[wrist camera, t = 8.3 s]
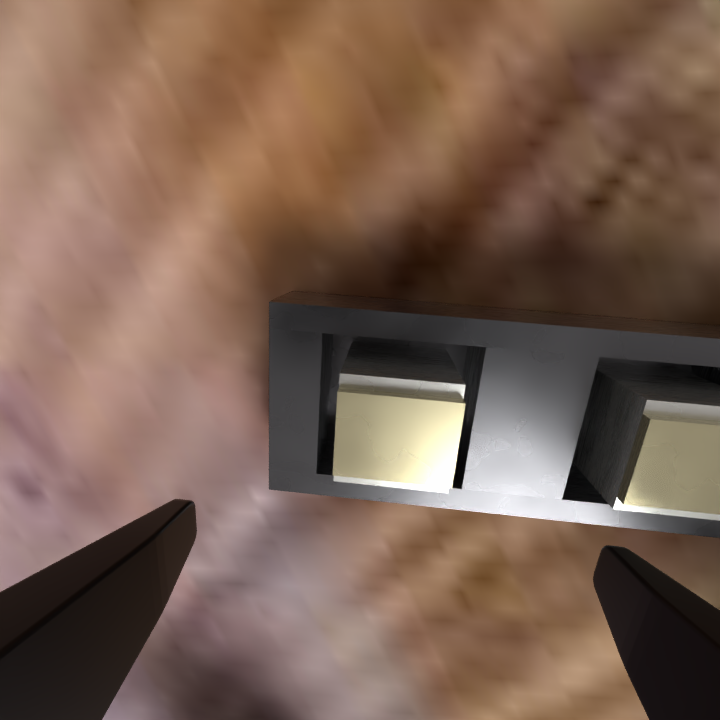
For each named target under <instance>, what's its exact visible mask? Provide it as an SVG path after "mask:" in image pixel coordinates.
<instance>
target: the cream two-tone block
mask: <svg viewBox="0 0 720 720" xmlns="http://www.w3.org/2000/svg"><path fill="white" fill-rule="evenodd" d="M465 386H466V384H465V383H464V381H463V379H462V377H461V375H460V374H459V372H458V370H457V368H456V366H455V365H454V363H453V361H452V359H451V357H450V355H449V354H448V352H447V350H446V349H438V348H427V347H415V346H404V345H392V344H381V343H369V342H358V341H352V343H351V346H350V349H349V351H348V354H347V356H346V359H345V361H344V364H343V366H342V369H341V372H340V378H339V389H338V391H337V408H336V425H335V442H334V459H333V476H334V480H333V481H337V482H346V483H356V484H365V485H375V486H384V487H394V488H403V489H413V490H422V491H431V492H441V493H448V492H449V488H452V484H453V478H454V472H455V466H456V460H457V454H458V448H459V442H460V436H461V429H462V423H463V417H464V411H465V405H466V403H465V401H464V392H465Z"/></svg>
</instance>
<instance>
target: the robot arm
mask: <svg viewBox="0 0 720 720" xmlns="http://www.w3.org/2000/svg"><path fill="white" fill-rule="evenodd" d="M196 533H197V527H196V511H195V504H194V502H193V501H191V500H183V499H174V500H172V501H170V502H168V503H166V504H164V505H163V506H161V507H159V508H157V509H155V510H153V511H151V512H149V513H148V514H146V515H144V516H142V517H140V518H138V519H136V520H134V521H133V522H131V523H129V524H127V525H125V526H123V527H121V528H119V529H118V530H116V531H114V532H112V533H110V534H108V535H106V536H104V537H103V538H101V539H99V540H97V541H95V542H93V543H91V544H90V545H88V546H86V547H84V548H82V549H80V550H78V551H76V552H75V553H73V554H71V555H69V556H67V557H65V558H63V559H61V560H60V561H58V562H56V563H54V564H52V565H50V566H48V567H46V568H45V569H43V570H41V571H39V572H37V573H35V574H33V575H31V576H30V577H28V578H26V579H24V580H22V581H20V582H18V583H16V584H14V585H13V586H11V587H9V588H7V589H5V590H3V591H1V592H0V720H102V719H103V717H104V715H105V713H106V712H107V710H108V708H109V706H110V704H111V703H112V701H113V699H114V697H115V696H116V694H117V692H118V690H119V689H120V687H121V685H122V683H123V682H124V680H125V678H126V676H127V674H128V673H129V671H130V669H131V667H132V666H133V664H134V662H135V660H136V659H137V657H138V655H139V653H140V652H141V650H142V648H143V646H144V644H145V643H146V641H147V639H148V637H149V636H150V634H151V632H152V630H153V629H154V627H155V625H156V623H157V621H158V620H159V618H160V616H161V614H162V612H163V610H164V608H165V606H166V604H167V602H168V600H169V598H170V595H171V593H172V591H173V589H174V586H175V584H176V582H177V580H178V577H179V575H180V573H181V571H182V568H183V566H184V564H185V562H186V560H187V557H188V555H189V553H190V551H191V548H192V546H193V544H194V541H195V538H196ZM593 582H594V587H595V590H596V593H597V595H598V598H599V601H600V603H601V606H602V609H603V611H604V614H605V617H606V619H607V622H608V625H609V627H610V630H611V633H612V636H613V638H614V641H615V644H616V646H617V649H618V652H619V654H620V657H621V659H622V662H623V664H624V666H625V669H626V671H627V673H628V675H629V678H630V680H631V682H632V684H633V686H634V688H635V690H636V693H637V695H638V697H639V699H640V701H641V703H642V705H643V707H644V709H645V712H646V714H647V716H648V718H649V720H720V610H718V609H717V608H715V607H714V606H712V605H711V604H709V603H708V602H706V601H705V600H703V599H702V598H700V597H699V596H697V595H696V594H694V593H693V592H691V591H690V590H688V589H687V588H685V587H684V586H683V585H681V584H680V583H678V582H677V581H675V580H674V579H672V578H671V577H669V576H668V575H666V574H665V573H663V572H662V571H660V570H659V569H657V568H656V567H654V566H653V565H651V564H650V563H648V562H647V561H645V560H644V559H642V558H641V557H639V556H638V555H636V554H635V553H633V552H632V551H630V550H629V549H627V548H625V547H618V546H609V545H608V546H604V547H603V548H602V550H601V552H600V556H599V559H598V562H597V565H596V568H595V571H594V576H593Z"/></svg>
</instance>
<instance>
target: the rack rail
mask: <svg viewBox="0 0 720 720" xmlns="http://www.w3.org/2000/svg"><path fill="white" fill-rule="evenodd" d="M352 341H358V342H369V343H381V344H392V345H404V346H415V347H427V348H438V349H446V350H447V352H448V354H449V355H450V357H451V359H452V361H453V363H454V365H455V366H456V368H457V370H458V372H459V374H460V375H461V377H462V379H463V381H464V383H465V384H466V386H465V392H464V401H465V403H466V405H465V411H464V417H463V423H462V429H461V436H460V442H459V448H458V454H457V460H456V466H455V472H454V478H453V484H452V488H449V492H448V493H441V492H431V491H422V490H413V489H403V488H394V487H384V486H375V485H365V484H356V483H346V482H337V481H333V480H334V476H333V459H334V442H335V425H336V408H337V391H338V389H339V378H340V372H341V369H342V366H343V364H344V361H345V359H346V356H347V354H348V351H349V349H350V346H351V343H352ZM598 361H602V362H614V363H625V364H637V365H648V366H660V367H671V368H680V369H682V370H684V371H687V372H689V373H692V374H694V375H696V376H699V377H701V378H703V379H706V380H708V381H711V382H713V383H715V384H718V385H720V326H718V325H705V324H693V323H681V322H668V321H656V320H644V319H631V318H619V317H607V316H594V315H582V314H570V313H557V312H545V311H533V310H520V309H508V308H496V307H483V306H471V305H459V304H446V303H434V302H422V301H409V300H397V299H385V298H372V297H360V296H348V295H335V294H323V293H311V292H298V291H292V292H289V293H287V294H285V295H283V296H281V297H279V298H276V299H274V300H272V301H270V302H269V489H271V490H280V491H289V492H298V493H308V494H317V495H326V496H335V497H345V498H354V499H363V500H373V501H382V502H391V503H400V504H410V505H419V506H428V507H438V508H447V509H456V510H465V511H475V512H484V513H493V514H503V515H512V516H521V517H530V518H540V519H549V520H558V521H568V522H577V523H586V524H595V525H605V526H614V527H623V528H633V529H642V530H651V531H660V532H670V533H679V534H688V535H698V536H707V537H716V538H720V521H719V520H710V519H700V518H691V517H681V516H672V515H662V514H653V513H643V512H634V511H624V510H615V509H612V507H611V506H610V505H609V504H608V503H607V502H606V500H605V499H604V498H603V497H602V496H601V495H600V493H599V492H598V491H597V490H596V489H595V488H594V486H593V485H592V484H591V483H590V482H589V480H588V479H587V478H586V477H585V476H584V475H583V473H582V472H581V471H580V470H579V469H578V468H577V466H576V465H575V464H574V463H573V462H572V460H573V456H574V452H575V448H576V444H577V441H578V437H579V433H580V429H581V425H582V422H583V418H584V414H585V410H586V406H587V403H588V399H589V395H590V391H591V387H592V384H593V380H594V376H595V372H596V368H597V365H598Z"/></svg>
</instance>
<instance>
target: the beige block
mask: <svg viewBox="0 0 720 720" xmlns="http://www.w3.org/2000/svg"><path fill="white" fill-rule="evenodd" d="M572 462H573V463H574V464H575V465H576V466H577V468H578V469H579V470H580V471H581V472H582V473H583V475H584V476H585V477H586V478H587V479H588V480H589V482H590V483H591V484H592V485H593V486H594V488H595V489H596V490H597V491H598V492H599V493H600V495H601V496H602V497H603V498H604V499H605V500H606V502H607V503H608V504H609V505H610V506H611V507H612V509H615V510H624V511H634V512H643V513H653V514H662V515H672V516H681V517H691V518H700V519H710V520H719V521H720V385H718V384H715V383H713V382H711V381H708V380H706V379H703V378H701V377H699V376H696V375H694V374H692V373H689V372H687V371H684V370H682V369H680V368H671V367H660V366H648V365H637V364H625V363H614V362H602V361H598V365H597V368H596V372H595V376H594V380H593V384H592V387H591V391H590V395H589V399H588V403H587V406H586V410H585V414H584V418H583V422H582V425H581V429H580V433H579V437H578V441H577V444H576V448H575V452H574V456H573V460H572Z"/></svg>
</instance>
